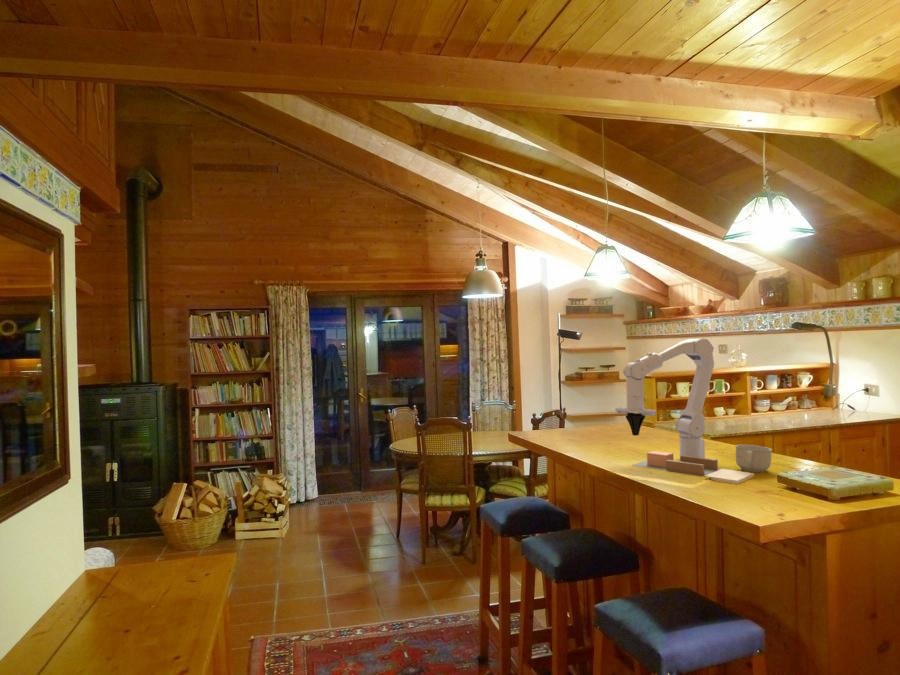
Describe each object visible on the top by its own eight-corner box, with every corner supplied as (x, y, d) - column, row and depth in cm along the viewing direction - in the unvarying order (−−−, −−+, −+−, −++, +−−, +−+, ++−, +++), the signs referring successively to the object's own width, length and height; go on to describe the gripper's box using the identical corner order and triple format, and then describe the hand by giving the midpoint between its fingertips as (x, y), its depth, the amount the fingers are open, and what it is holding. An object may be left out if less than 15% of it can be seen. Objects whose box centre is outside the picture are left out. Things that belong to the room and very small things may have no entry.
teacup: (743, 466, 212) (742, 442, 212) (777, 470, 204) (776, 446, 204) (726, 472, 202) (726, 448, 202) (762, 477, 194) (761, 452, 194)
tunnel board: (650, 462, 221) (650, 450, 221) (754, 476, 196) (753, 463, 196) (631, 468, 211) (631, 456, 211) (737, 484, 186) (737, 470, 186)
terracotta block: (654, 462, 215) (654, 450, 215) (673, 465, 210) (673, 453, 210) (647, 464, 211) (647, 452, 211) (666, 467, 206) (666, 455, 206)
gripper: (610, 396, 219) (611, 434, 219) (648, 398, 209) (649, 438, 209) (620, 394, 224) (621, 432, 224) (658, 397, 214) (659, 436, 214)
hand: (635, 435), depth 217 cm, fingers closed
